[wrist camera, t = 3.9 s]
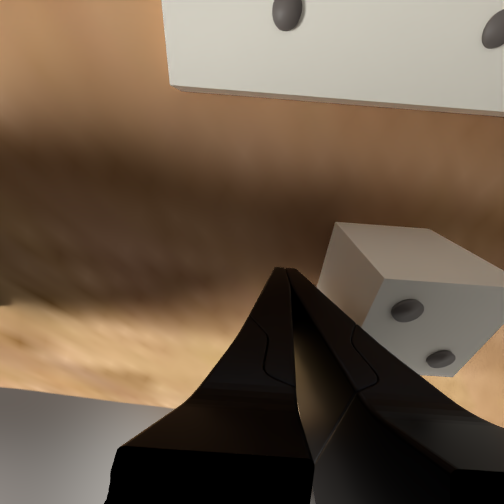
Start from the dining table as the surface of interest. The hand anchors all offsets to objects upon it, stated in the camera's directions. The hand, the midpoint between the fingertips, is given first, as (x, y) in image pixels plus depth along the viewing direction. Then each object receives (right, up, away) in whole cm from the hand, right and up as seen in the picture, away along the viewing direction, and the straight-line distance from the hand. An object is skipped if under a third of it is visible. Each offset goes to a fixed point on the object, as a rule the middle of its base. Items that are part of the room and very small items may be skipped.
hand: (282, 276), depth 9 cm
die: (+4, 0, +1) cm, 4 cm away
